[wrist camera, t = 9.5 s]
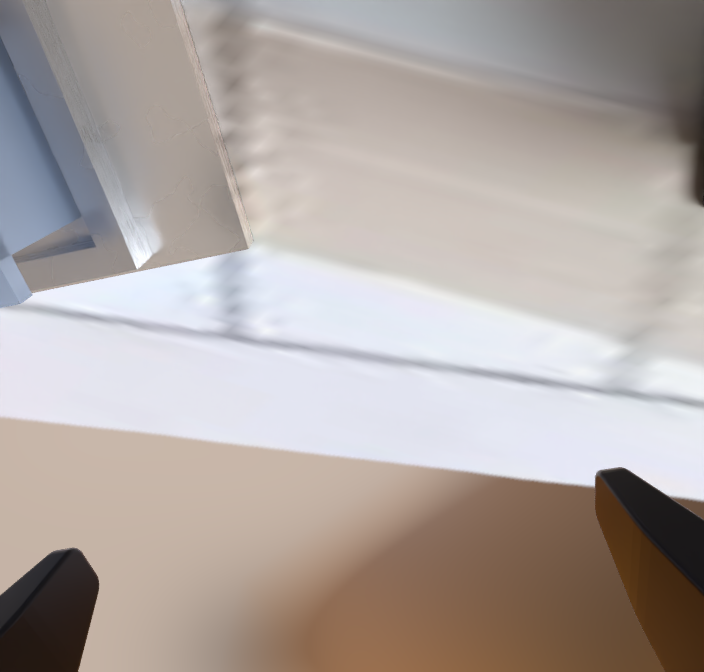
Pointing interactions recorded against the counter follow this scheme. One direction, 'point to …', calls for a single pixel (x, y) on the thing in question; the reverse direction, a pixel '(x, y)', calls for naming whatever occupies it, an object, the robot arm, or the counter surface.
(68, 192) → the block
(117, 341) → the counter surface
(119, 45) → the mount plate
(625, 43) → the counter surface
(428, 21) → the counter surface
